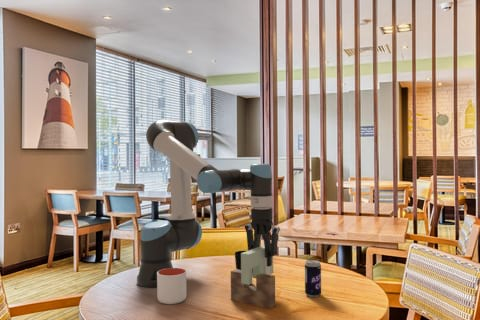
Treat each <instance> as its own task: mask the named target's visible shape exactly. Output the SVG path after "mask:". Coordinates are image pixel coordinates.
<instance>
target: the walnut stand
mask: <svg viewBox="0 0 480 320" xmlns="http://www.w3.org/2000/svg"><path fill="white" fill-rule="evenodd" d="M255 280H256V281H255V283H256V285H255V286H253V285H248V284H242V283H241V270H239V269H236V268H234V269H232V270H231V271H230V300H231V301H235V302H240V303H244V304H249V305H254V306H257V307H261V308H266V309H269V310H270V309H273V308H274V307H276V275H273V274H270V275H266V274H259V275H257V276H256V278H255Z"/></svg>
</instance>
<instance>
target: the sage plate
mask: <svg viewBox="0 0 480 320" xmlns="http://www.w3.org/2000/svg"><path fill="white" fill-rule="evenodd" d="M245 251H246V252H243V253H241V283H242V284H248V285H249V286H251V285H252V284H253V279H256V276H257V275H259V274H264V257H265V256H266V253H265V246H264V244H263V245H260V247H257V248H254V249H252V250H249V251H248V250H245ZM252 268H253V276H252ZM273 274H274V256H272V265H271V266H270V275H273ZM250 284H251V285H250Z"/></svg>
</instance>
